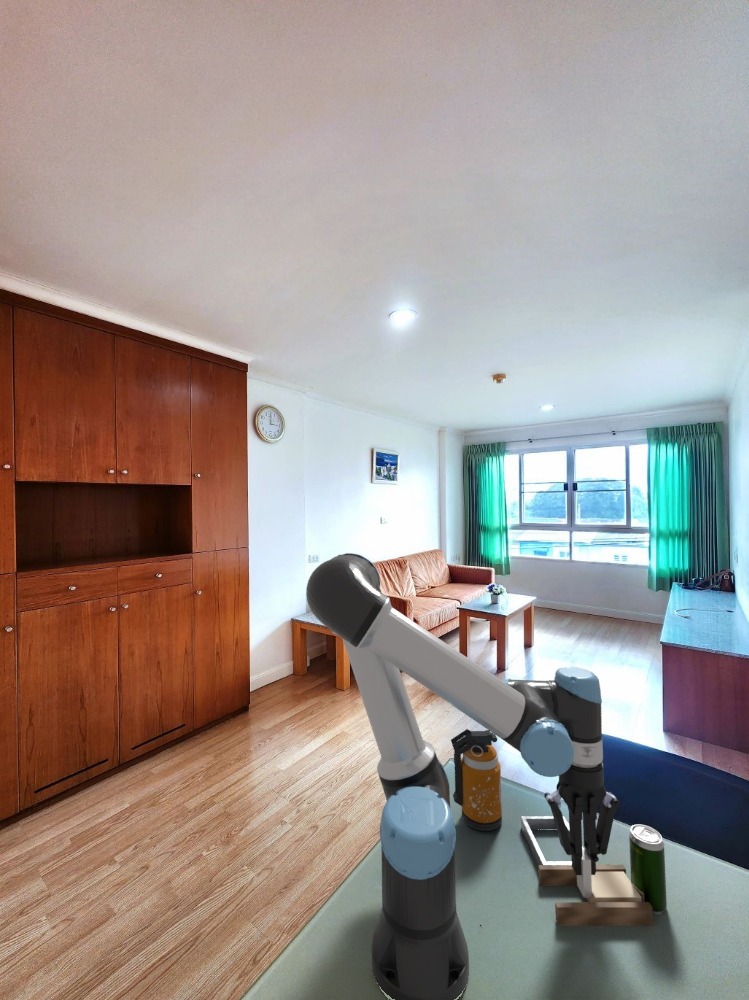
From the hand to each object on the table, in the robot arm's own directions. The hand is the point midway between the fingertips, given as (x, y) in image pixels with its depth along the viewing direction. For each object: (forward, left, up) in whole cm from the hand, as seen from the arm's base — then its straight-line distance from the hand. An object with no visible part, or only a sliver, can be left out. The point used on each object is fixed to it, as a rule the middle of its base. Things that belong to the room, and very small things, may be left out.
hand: (584, 891), depth 78 cm
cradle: (-1, +12, -2) cm, 12 cm away
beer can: (+11, 0, -2) cm, 12 cm away
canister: (-15, +22, -2) cm, 26 cm away
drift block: (+5, 0, -2) cm, 5 cm away
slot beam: (+1, 0, -2) cm, 2 cm away
